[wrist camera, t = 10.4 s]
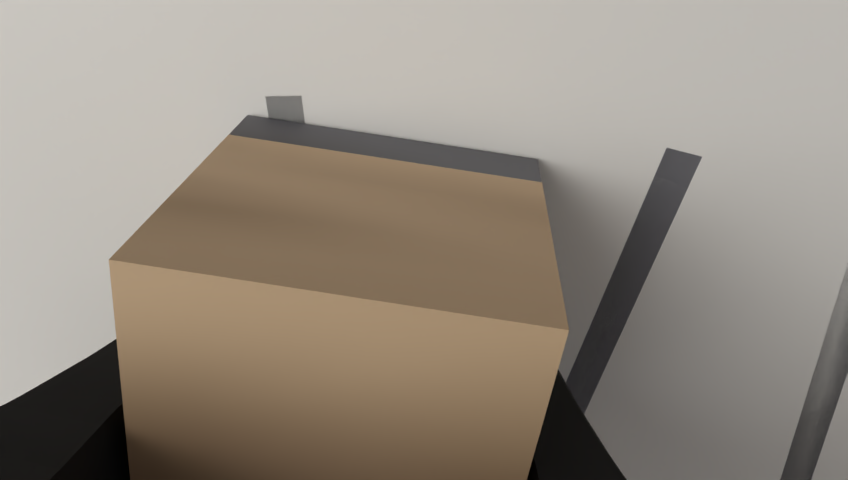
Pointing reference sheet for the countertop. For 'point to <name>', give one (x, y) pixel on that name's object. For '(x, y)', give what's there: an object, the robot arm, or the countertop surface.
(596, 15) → the board
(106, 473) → the robot arm
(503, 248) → the cork block
